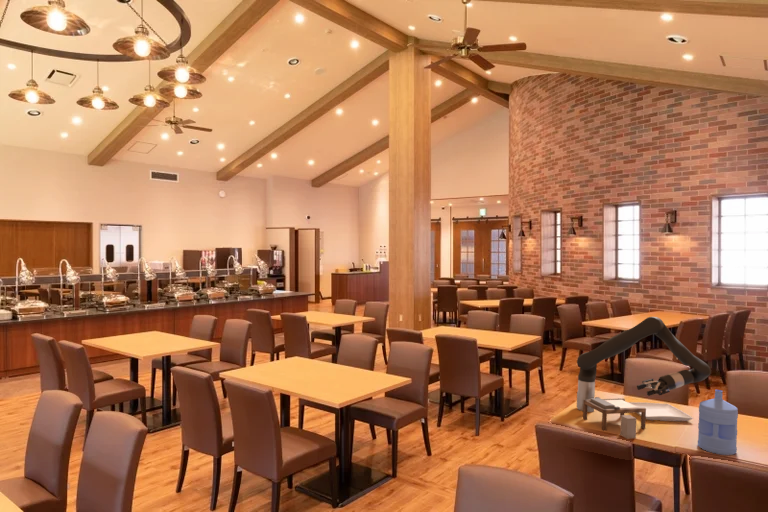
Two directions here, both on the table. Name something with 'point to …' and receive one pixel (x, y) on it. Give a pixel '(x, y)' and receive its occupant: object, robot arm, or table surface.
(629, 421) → the granite block
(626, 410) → the frame
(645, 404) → the square plate
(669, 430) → the table surface
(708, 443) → the water jug
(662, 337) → the robot arm
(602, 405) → the trapdoor
